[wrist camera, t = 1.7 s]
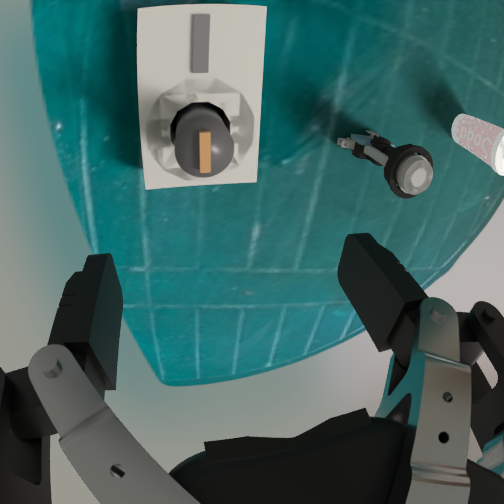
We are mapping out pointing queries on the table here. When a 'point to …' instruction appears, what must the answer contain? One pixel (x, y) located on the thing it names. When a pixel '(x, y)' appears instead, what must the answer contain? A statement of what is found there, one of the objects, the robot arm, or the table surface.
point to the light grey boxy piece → (199, 83)
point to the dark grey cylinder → (202, 141)
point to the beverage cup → (480, 140)
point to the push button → (394, 162)
